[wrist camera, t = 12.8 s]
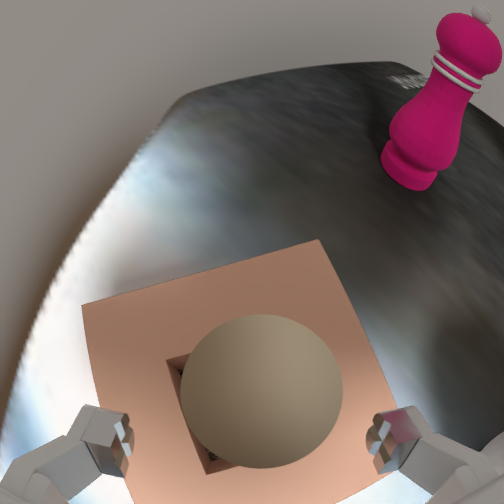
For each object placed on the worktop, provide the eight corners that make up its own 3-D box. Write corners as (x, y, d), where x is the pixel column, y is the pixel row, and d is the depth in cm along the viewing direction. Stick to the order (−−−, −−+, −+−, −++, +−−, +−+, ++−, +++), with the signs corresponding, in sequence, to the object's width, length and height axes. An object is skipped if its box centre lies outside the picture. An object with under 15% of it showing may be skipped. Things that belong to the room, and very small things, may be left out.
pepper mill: (363, 148, 29) (426, -25, 11) (408, 145, 30) (472, 2, 13) (401, 200, 25) (500, 13, 8) (444, 191, 27) (533, 42, 10)
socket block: (303, 269, 21) (318, 239, 17) (382, 451, 15) (415, 456, 11) (106, 326, 18) (81, 305, 14) (172, 527, 11) (159, 552, 8)
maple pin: (262, 361, 17) (307, 294, 8) (286, 420, 16) (364, 428, 6) (200, 381, 17) (161, 339, 7) (221, 441, 15) (212, 488, 5)
